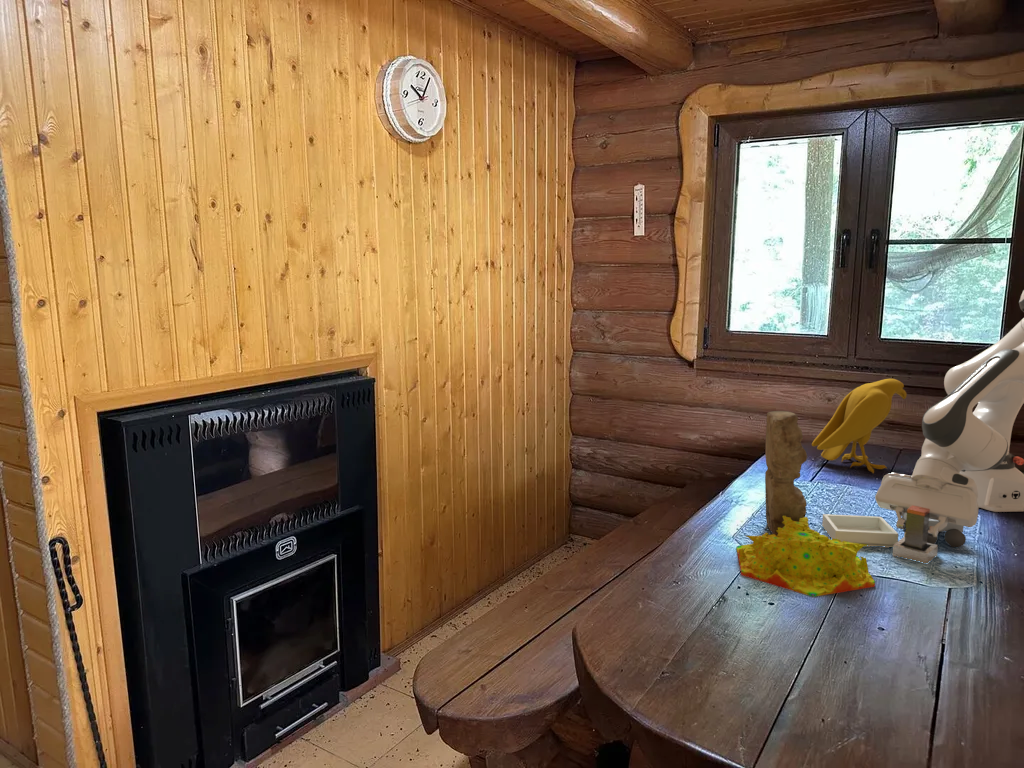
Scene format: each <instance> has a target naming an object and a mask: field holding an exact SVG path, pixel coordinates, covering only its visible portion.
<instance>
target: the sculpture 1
mask: <svg viewBox="0 0 1024 768" xmlns="http://www.w3.org/2000/svg"><path fill="white" fill-rule="evenodd" d="M798 421H799V417H798V415H797V414H796V413H794V412H791V411H788V410H787V411H786V410H776V411H775V410H774V411H773V410H772V411H768V412H767V413H766V424H765V425H766V426H765V427H766V428H765V430H766V431H765V447H764V448H765V464H766V467H767V469H766V470H765V473H764V474H765V475H764V476H765V477H764V484H765V485H764V487H765V490H764V491H765V492H764V493H765V521H766V524H767V526H768V529H769V531H770V532H771V534H775V535H776V536H777V535H778V532H777V531H776V530H778V528H779V527H780V528H783V527H784V526H785V524H783V523H782V522H783V521H784V519H783V517H782V516H786V517H790V518H791V520H793V521H796V522H799V519H800V518H804V517H806V513H807V501H806V497H805V496H804V494H803V490H801V489H800V488H799V487H798V486H796V485H794V484H795V480H797V479H799V478H800V477H801V470H802V465H803V464H804V463H805V462H806V461H807V460H808V455H807V454H808V453H807V452H806V450H805V449H804V447H803V445H802V440H803V438H804V437H803V436H804V435H803V431H802V427H801V426H800V424H798V423H799V422H798Z"/></svg>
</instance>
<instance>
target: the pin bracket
mask: <svg viewBox="0 0 1024 768" xmlns="http://www.w3.org/2000/svg"><path fill="white" fill-rule="evenodd" d="M904 544H905V537H904V536H903V537H902V538H900V539H898V542H897V543H895V544H894V545H893V548H892V555H893V557H896V556H898V557H897V558H899V557H903V558H907V559H912V560H916V561H920V562H923V563H928V562H929V561H931V560H932V559H933V558H934V557H935V556H936V557H937V556H938V550H939V546H938V544H936V543H935V544H931V543H927V548H926V550H925V551H921V550H917V549H913V548H909V547H905V546H904ZM892 555H891V556H892ZM936 557H935V558H936ZM903 558H902V559H903ZM935 558H934V559H935ZM907 559H906V560H907ZM934 559H933V560H934ZM931 562H932V561H931ZM929 563H930V562H929ZM929 563H928V564H929Z"/></svg>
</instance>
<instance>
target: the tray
mask: <svg viewBox="0 0 1024 768" xmlns="http://www.w3.org/2000/svg"><path fill="white" fill-rule="evenodd" d="M821 525H822V526H823V527H824V529H825V530H826V531H827V533H828V534H829V535H830V537H831V538H832V539H839V540H841V542H843V541H847V542H851V543H859V544H866V545H868V546H867V547H870V546H885V547H884V548H889V547H893V545H894V544H895V543H897V542H898V541H899V532H897V531H896V530H895V529H894V527H892V526H891V525H890V524H889V522H887V521H886V520H885V519H884V518H883V517H882V516H872V515H871V516H869V515H848V514H829V513H828V514H827V513H822V524H821ZM824 529H823V530H824ZM825 530H824V531H825ZM827 533H826V534H827ZM828 534H827V535H828ZM830 537H829V538H830Z"/></svg>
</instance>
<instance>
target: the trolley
mask: <svg viewBox="0 0 1024 768" xmlns="http://www.w3.org/2000/svg"><path fill="white" fill-rule="evenodd" d="M901 518H902V519H903V520H905V521H906V519H907V513H905V514H904V516H901ZM938 523H939V521H938V520H934V519H930V518H929V525H928V530H929V527H930V526H935V525H936V524H938ZM905 530H906V526H905ZM942 532H945V533H944V535H943V539H944V541H945V543H946V544H947V545H948V546H950V547H952V548H954V547H958V548H961V547H963V546H964V545H965V543H966V541H967V540H966V539H967V538H966V537H967V536H966V535H965V534H964V526H961V525H957V524H952V523H947V526H946V527H945V528H943V529H942V530H940V531H939V532H938V533H942ZM937 541H938V536H937V537H933V536H929V534H928V537H927V543H931V544H935V545H936V543H937Z"/></svg>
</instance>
